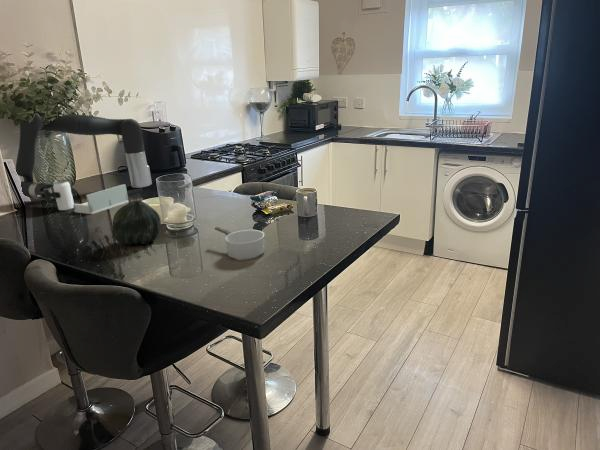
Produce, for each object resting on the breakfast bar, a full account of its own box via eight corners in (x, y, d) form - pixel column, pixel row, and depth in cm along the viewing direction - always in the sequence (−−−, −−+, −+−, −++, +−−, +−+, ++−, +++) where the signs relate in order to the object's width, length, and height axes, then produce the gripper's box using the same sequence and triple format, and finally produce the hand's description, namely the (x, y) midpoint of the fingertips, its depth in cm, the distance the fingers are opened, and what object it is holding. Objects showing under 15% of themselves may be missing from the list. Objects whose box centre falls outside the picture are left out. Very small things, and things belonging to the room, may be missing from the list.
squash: (112, 221, 153) (106, 195, 141) (158, 216, 158) (156, 190, 146) (116, 258, 147) (110, 234, 134) (164, 251, 152) (163, 227, 139)
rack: (112, 200, 206) (108, 183, 204) (128, 201, 201) (125, 184, 199) (74, 212, 191) (70, 193, 188) (91, 214, 185) (87, 195, 183)
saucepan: (233, 238, 145) (231, 222, 144) (274, 252, 131) (273, 234, 130) (202, 249, 138) (200, 232, 136) (243, 265, 124) (240, 246, 122)
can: (70, 210, 194) (64, 182, 190) (55, 211, 194) (49, 183, 190) (77, 206, 200) (71, 179, 196) (63, 207, 200) (57, 180, 197)
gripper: (24, 186, 195) (48, 188, 186) (55, 179, 206) (79, 180, 198) (28, 203, 197) (52, 206, 189) (59, 195, 209) (82, 197, 201)
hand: (66, 193), depth 194 cm, fingers closed on can, 5 cm apart
